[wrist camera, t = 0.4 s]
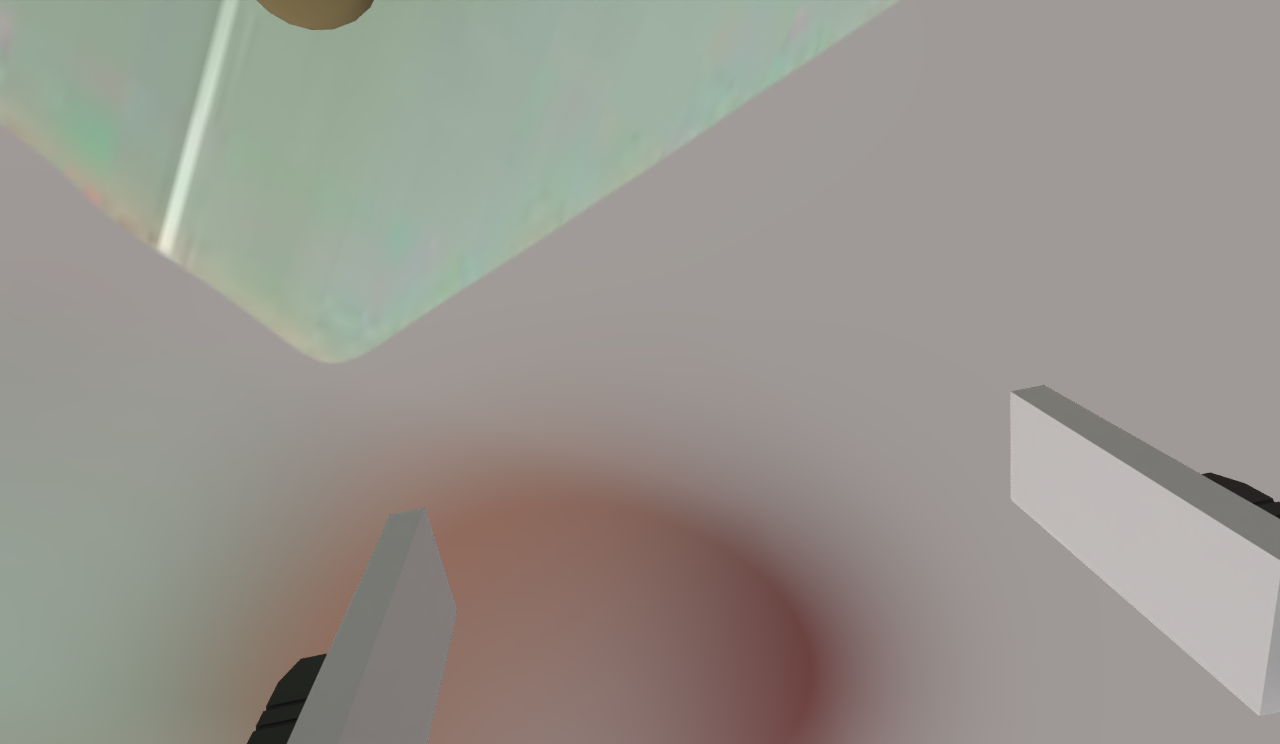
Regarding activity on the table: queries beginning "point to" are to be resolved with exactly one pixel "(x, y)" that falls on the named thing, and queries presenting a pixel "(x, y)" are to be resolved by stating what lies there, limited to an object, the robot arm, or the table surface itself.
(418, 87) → the table surface
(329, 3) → the cork
